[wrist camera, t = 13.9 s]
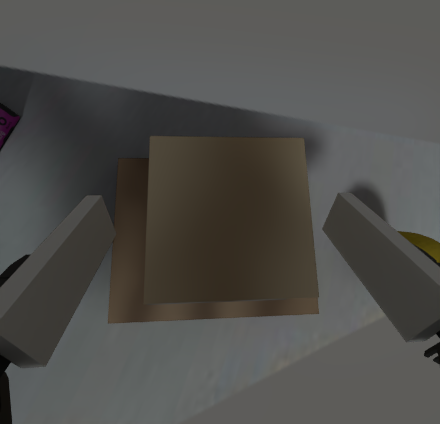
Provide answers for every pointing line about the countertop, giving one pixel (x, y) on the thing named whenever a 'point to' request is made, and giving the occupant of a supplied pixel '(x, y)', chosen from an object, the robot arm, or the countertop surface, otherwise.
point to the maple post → (228, 220)
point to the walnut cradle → (135, 265)
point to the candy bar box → (6, 122)
